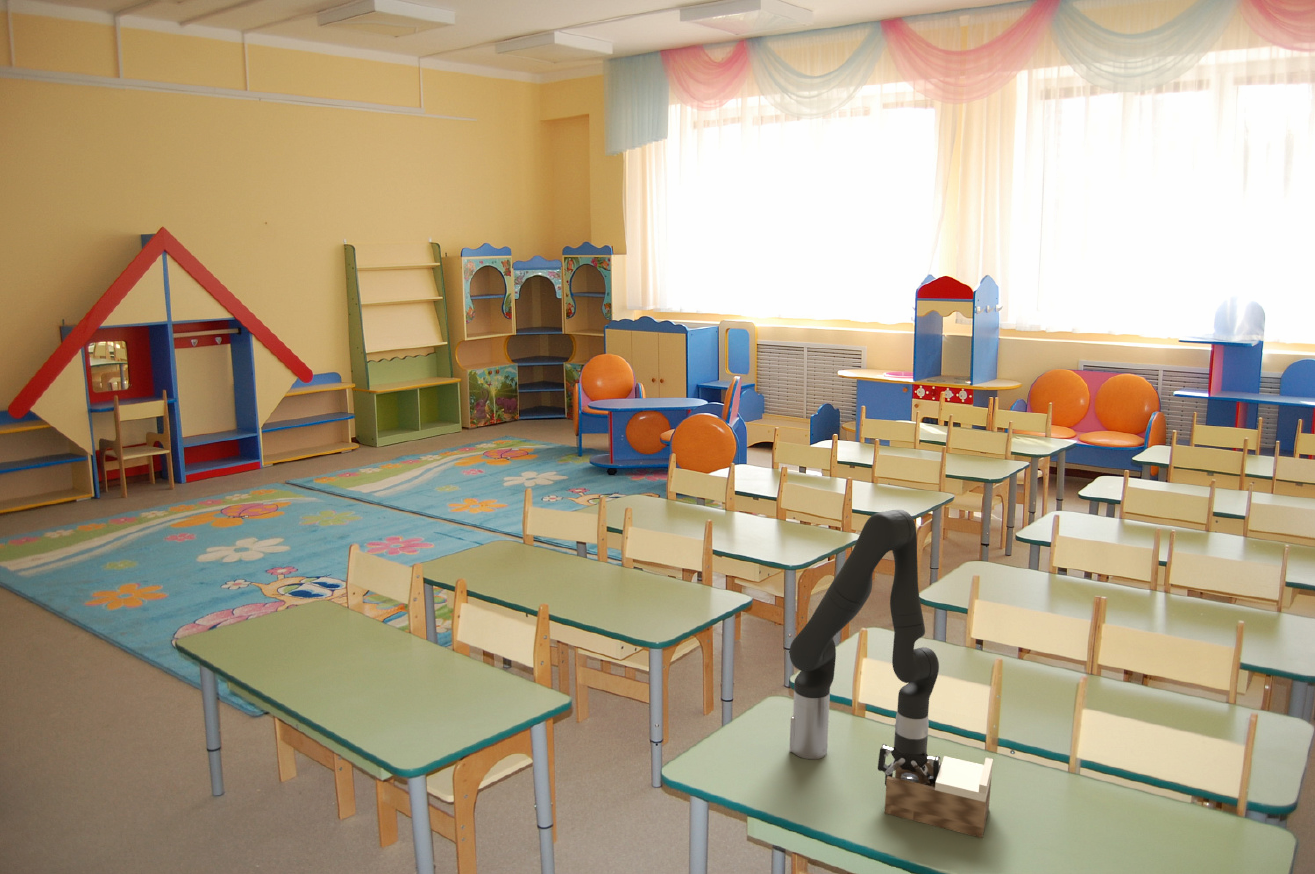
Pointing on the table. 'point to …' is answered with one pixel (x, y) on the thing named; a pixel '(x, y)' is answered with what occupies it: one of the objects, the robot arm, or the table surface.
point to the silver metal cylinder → (909, 777)
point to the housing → (934, 805)
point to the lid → (964, 778)
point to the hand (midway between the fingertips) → (907, 791)
